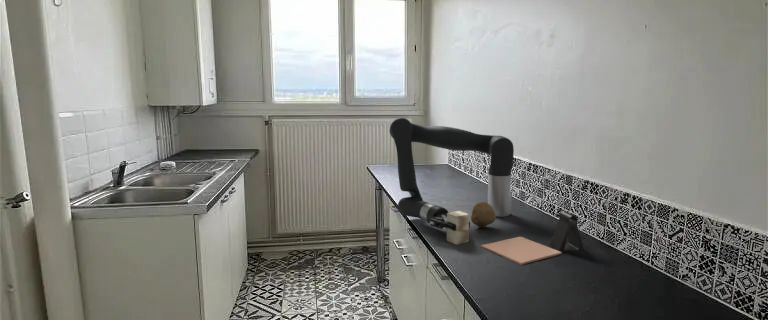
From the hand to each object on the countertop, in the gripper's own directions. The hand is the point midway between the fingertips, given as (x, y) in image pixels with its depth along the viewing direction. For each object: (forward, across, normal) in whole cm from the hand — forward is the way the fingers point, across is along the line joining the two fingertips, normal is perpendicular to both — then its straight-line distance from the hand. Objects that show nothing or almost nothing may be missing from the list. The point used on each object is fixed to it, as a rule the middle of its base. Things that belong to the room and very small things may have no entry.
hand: (462, 226), depth 155 cm
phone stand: (+21, +27, +6) cm, 35 cm away
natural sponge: (-10, +18, +6) cm, 21 cm away
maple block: (-3, 0, +6) cm, 7 cm away
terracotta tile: (+15, +12, +6) cm, 20 cm away
